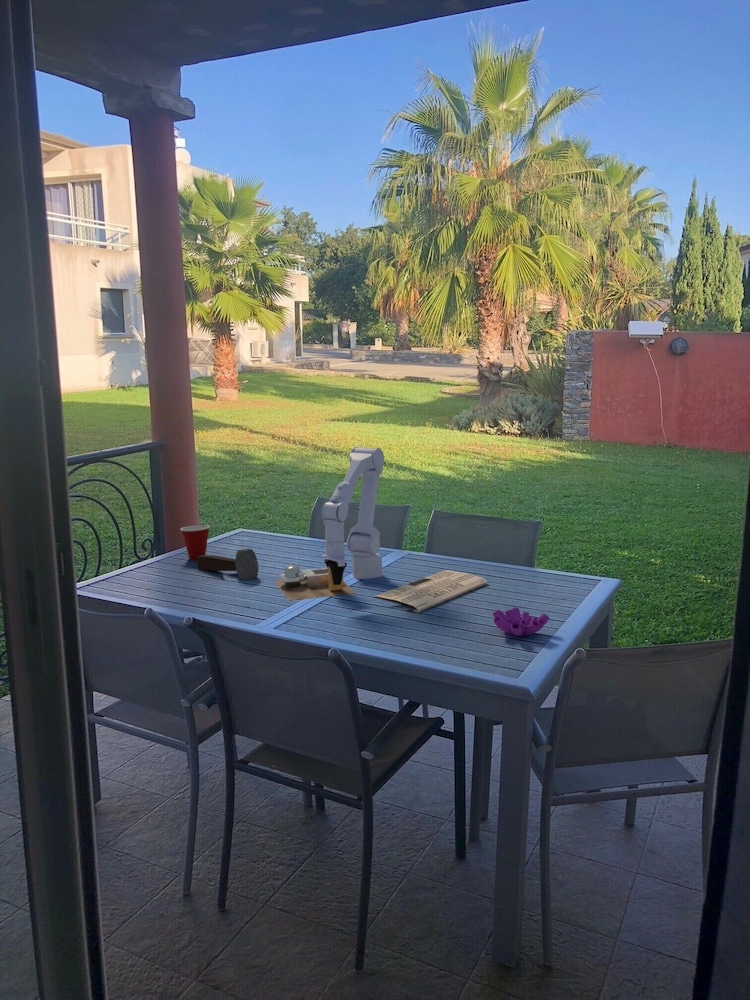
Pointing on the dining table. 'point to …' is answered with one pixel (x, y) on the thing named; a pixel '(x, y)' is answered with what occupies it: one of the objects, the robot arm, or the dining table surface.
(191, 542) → the plastic cup
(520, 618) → the purple coral
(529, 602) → the dining table surface
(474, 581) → the newspaper
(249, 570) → the hammer
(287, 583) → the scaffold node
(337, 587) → the tan rectangular prism
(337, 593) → the board
